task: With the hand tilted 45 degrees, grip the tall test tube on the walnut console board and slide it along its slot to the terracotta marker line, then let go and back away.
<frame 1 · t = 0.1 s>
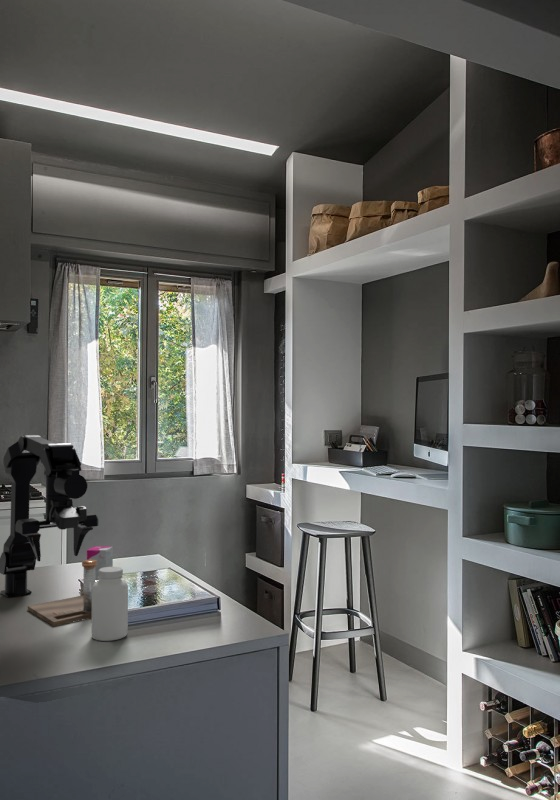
hand: (57, 558, 161), 15 cm above the table, tool pointing down, fingers open, 9 cm apart
pill bottle: (109, 636, 149), on the table
console: (71, 611, 167), on the table
test tube: (89, 587, 163), point 7 cm above the table, slide at 7.0 cm
supplement box: (99, 589, 188), on the table
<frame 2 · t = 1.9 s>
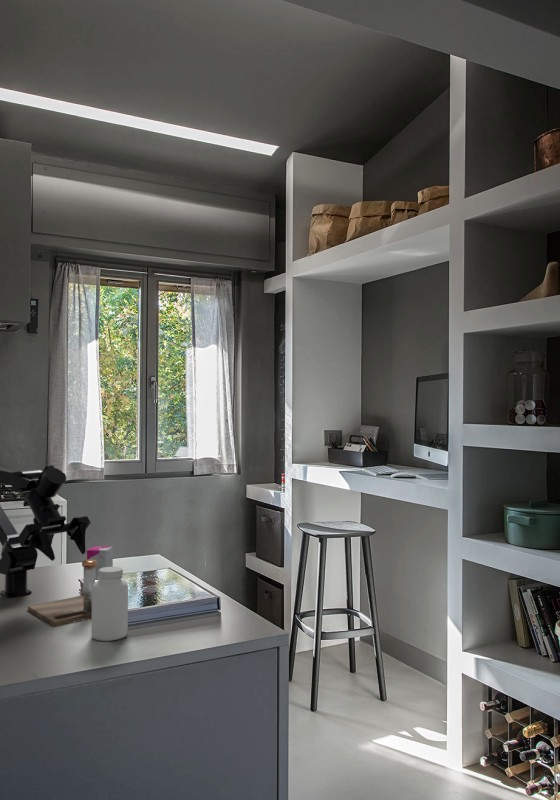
hand: (69, 556, 168), 13 cm above the table, tool tilted 45°, fingers open, 9 cm apart
nothing on the table moved.
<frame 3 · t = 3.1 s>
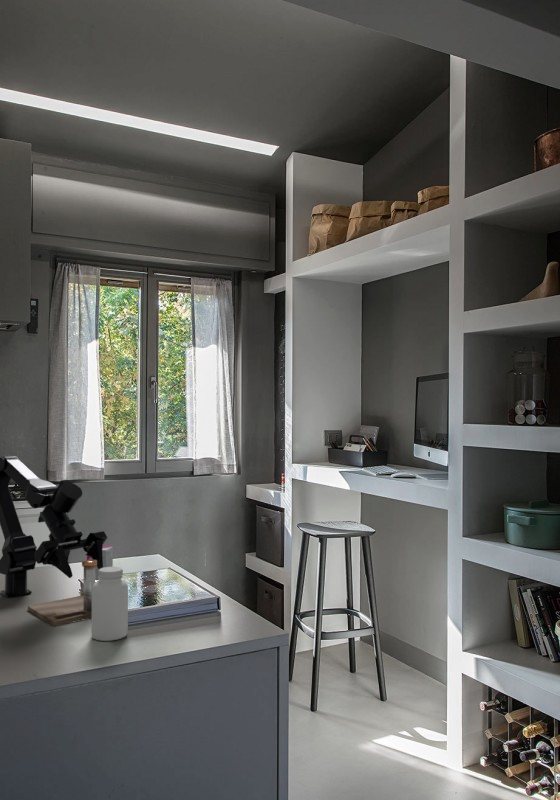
hand: (86, 573, 164), 10 cm above the table, tool tilted 45°, fingers open, 9 cm apart
nothing on the table moved.
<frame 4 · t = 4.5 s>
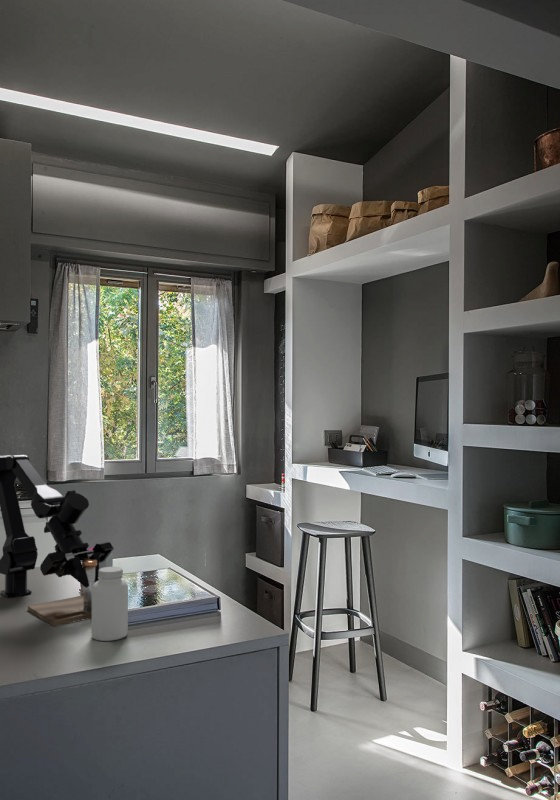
hand: (93, 585, 163), 8 cm above the table, tool tilted 45°, fingers closed on test tube, 3 cm apart
test tube: (89, 587, 163), point 7 cm above the table, slide at 7.0 cm, touching gripper
everything else where it was.
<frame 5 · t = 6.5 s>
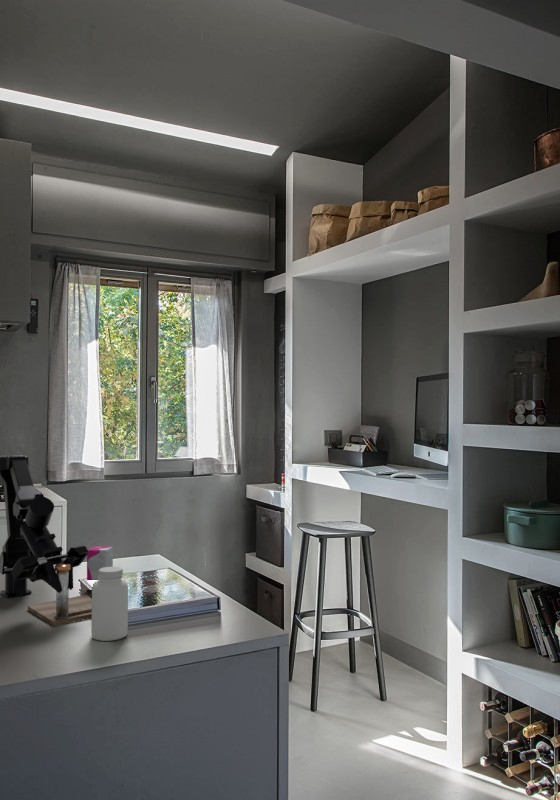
hand: (66, 590, 158), 8 cm above the table, tool tilted 45°, fingers closed on test tube, 3 cm apart
test tube: (62, 592, 159), point 7 cm above the table, slide at 0.1 cm, touching gripper
everything else where it was.
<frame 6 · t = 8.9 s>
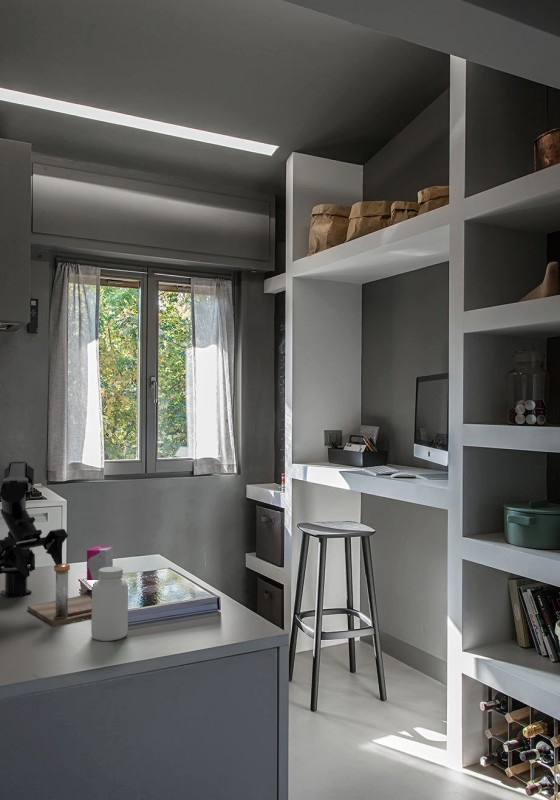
hand: (45, 572, 163), 11 cm above the table, tool tilted 45°, fingers open, 9 cm apart
test tube: (61, 593, 159), point 7 cm above the table, slide at 0.0 cm
everything else where it was.
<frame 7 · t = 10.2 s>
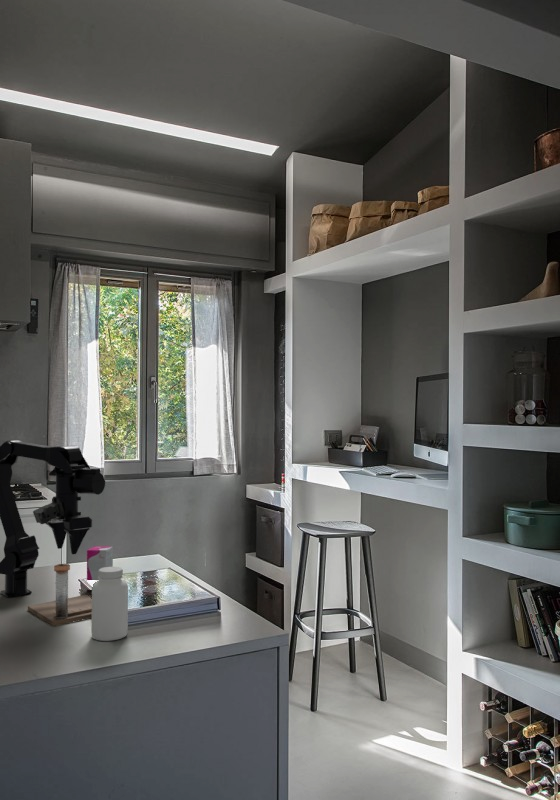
hand: (66, 551, 176), 13 cm above the table, tool pointing down, fingers open, 9 cm apart
nothing on the table moved.
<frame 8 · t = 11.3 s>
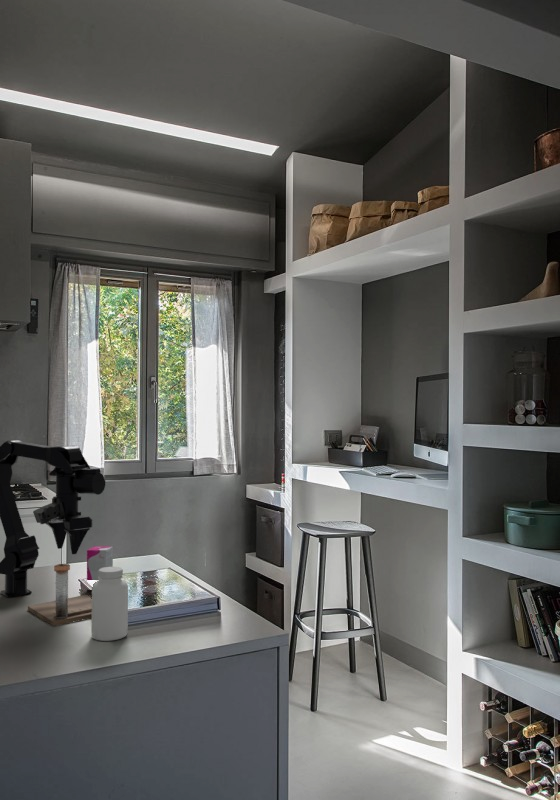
hand: (66, 551, 176), 13 cm above the table, tool pointing down, fingers open, 9 cm apart
nothing on the table moved.
at the end: test tube slide at 0.0 cm; the gripper is holding nothing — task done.
